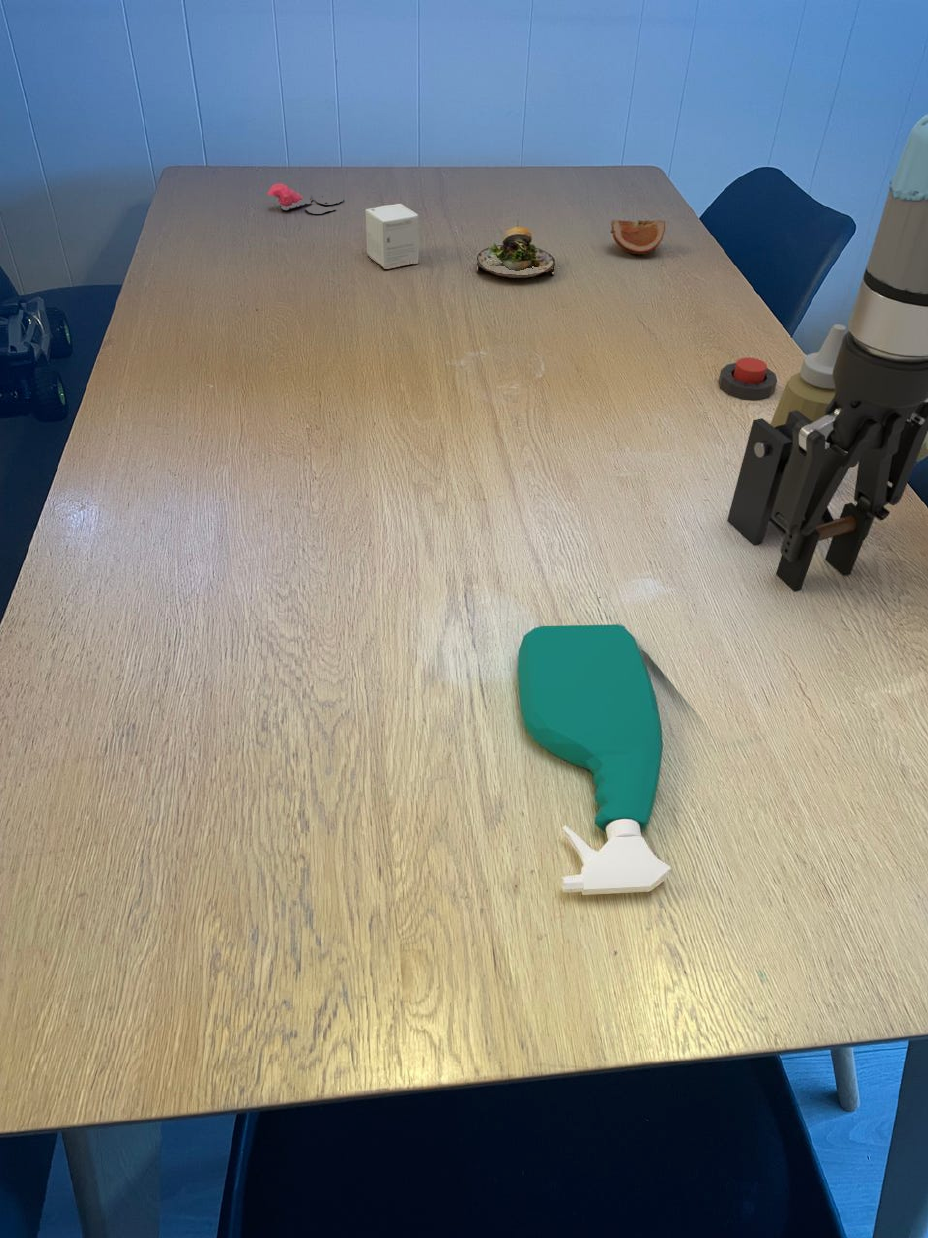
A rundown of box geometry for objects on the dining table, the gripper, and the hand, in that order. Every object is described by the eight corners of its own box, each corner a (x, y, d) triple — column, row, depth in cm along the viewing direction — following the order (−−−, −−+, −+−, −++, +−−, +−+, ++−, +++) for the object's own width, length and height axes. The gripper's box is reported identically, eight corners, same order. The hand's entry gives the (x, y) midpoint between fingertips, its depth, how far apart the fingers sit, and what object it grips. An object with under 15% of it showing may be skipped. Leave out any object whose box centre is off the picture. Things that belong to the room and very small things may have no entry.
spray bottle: (635, 645, 81) (700, 900, 63) (511, 647, 81) (540, 905, 63) (641, 620, 79) (708, 877, 61) (513, 622, 79) (544, 881, 61)
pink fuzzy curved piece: (312, 222, 154) (310, 194, 151) (260, 208, 158) (256, 181, 155) (355, 201, 162) (353, 174, 159) (303, 189, 166) (301, 162, 163)
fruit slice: (609, 258, 145) (613, 226, 142) (605, 242, 150) (609, 210, 147) (663, 260, 145) (668, 227, 142) (657, 244, 150) (662, 212, 147)
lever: (846, 535, 85) (862, 524, 83) (802, 548, 83) (817, 537, 81) (793, 431, 88) (807, 418, 86) (750, 442, 86) (763, 428, 84)
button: (769, 381, 112) (773, 368, 110) (745, 387, 110) (748, 373, 109) (751, 368, 114) (754, 355, 113) (727, 373, 113) (730, 360, 112)
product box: (383, 271, 140) (382, 221, 135) (366, 257, 144) (363, 208, 139) (420, 264, 142) (419, 214, 137) (401, 250, 146) (400, 201, 141)
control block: (800, 417, 111) (807, 394, 109) (752, 428, 109) (758, 405, 107) (750, 380, 117) (756, 358, 115) (704, 390, 115) (709, 368, 113)
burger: (463, 277, 139) (465, 226, 134) (492, 250, 147) (494, 200, 142) (539, 292, 136) (544, 240, 131) (565, 263, 144) (569, 213, 139)
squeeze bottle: (816, 465, 103) (866, 308, 91) (839, 508, 97) (897, 346, 85) (743, 465, 103) (785, 308, 91) (763, 508, 97) (810, 346, 85)
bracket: (815, 556, 91) (854, 443, 82) (756, 573, 89) (791, 459, 80) (758, 506, 97) (790, 396, 88) (702, 521, 95) (729, 409, 86)
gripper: (948, 302, 76) (860, 530, 92) (769, 339, 71) (708, 575, 87) (1021, 341, 71) (916, 575, 87) (835, 383, 66) (758, 625, 81)
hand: (813, 574), depth 87 cm, fingers closed on lever, 5 cm apart
